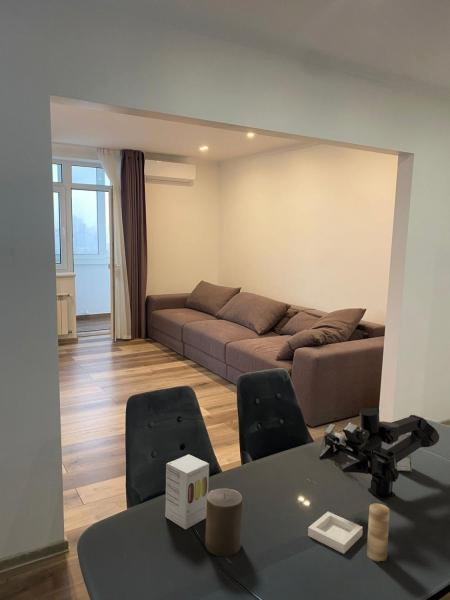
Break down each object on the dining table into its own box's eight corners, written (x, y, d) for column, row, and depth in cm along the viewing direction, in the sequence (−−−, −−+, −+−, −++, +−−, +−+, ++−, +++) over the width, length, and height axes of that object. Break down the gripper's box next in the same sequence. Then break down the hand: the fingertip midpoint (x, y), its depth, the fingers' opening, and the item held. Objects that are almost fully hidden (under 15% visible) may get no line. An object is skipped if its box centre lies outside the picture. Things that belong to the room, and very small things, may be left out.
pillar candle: (229, 562, 115) (231, 506, 113) (197, 548, 120) (199, 494, 118) (247, 542, 123) (249, 490, 121) (217, 530, 128) (219, 479, 127)
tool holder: (327, 519, 134) (327, 511, 134) (362, 535, 127) (362, 527, 127) (307, 535, 126) (308, 527, 126) (343, 553, 119) (344, 544, 118)
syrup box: (411, 465, 169) (408, 427, 169) (412, 472, 163) (409, 432, 163) (395, 464, 171) (392, 427, 171) (395, 471, 165) (392, 432, 165)
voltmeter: (312, 446, 186) (313, 423, 185) (338, 445, 188) (339, 422, 187) (338, 477, 160) (339, 451, 159) (368, 476, 162) (369, 449, 161)
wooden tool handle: (377, 547, 122) (380, 501, 120) (390, 558, 117) (393, 511, 116) (362, 551, 120) (365, 505, 118) (375, 563, 115) (378, 515, 114)
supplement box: (185, 530, 127) (186, 473, 126) (164, 517, 133) (164, 463, 132) (208, 516, 134) (210, 462, 133) (187, 504, 140) (188, 453, 139)
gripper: (340, 411, 148) (306, 429, 140) (389, 430, 133) (354, 451, 125) (342, 442, 151) (309, 461, 142) (390, 464, 135) (356, 486, 127)
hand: (331, 464), depth 134 cm, fingers open, 9 cm apart
